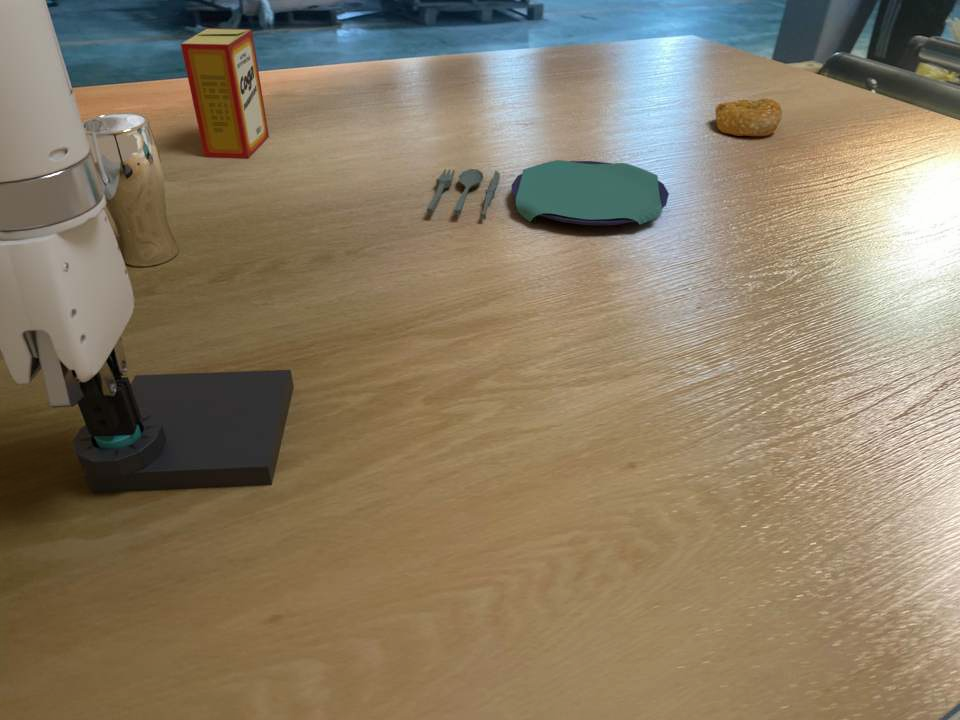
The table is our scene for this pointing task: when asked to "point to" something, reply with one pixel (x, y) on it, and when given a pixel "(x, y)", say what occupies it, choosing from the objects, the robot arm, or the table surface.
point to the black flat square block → (196, 433)
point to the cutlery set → (573, 192)
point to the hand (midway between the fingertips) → (116, 428)
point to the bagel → (748, 117)
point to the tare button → (117, 440)
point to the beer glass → (132, 186)
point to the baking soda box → (226, 92)
